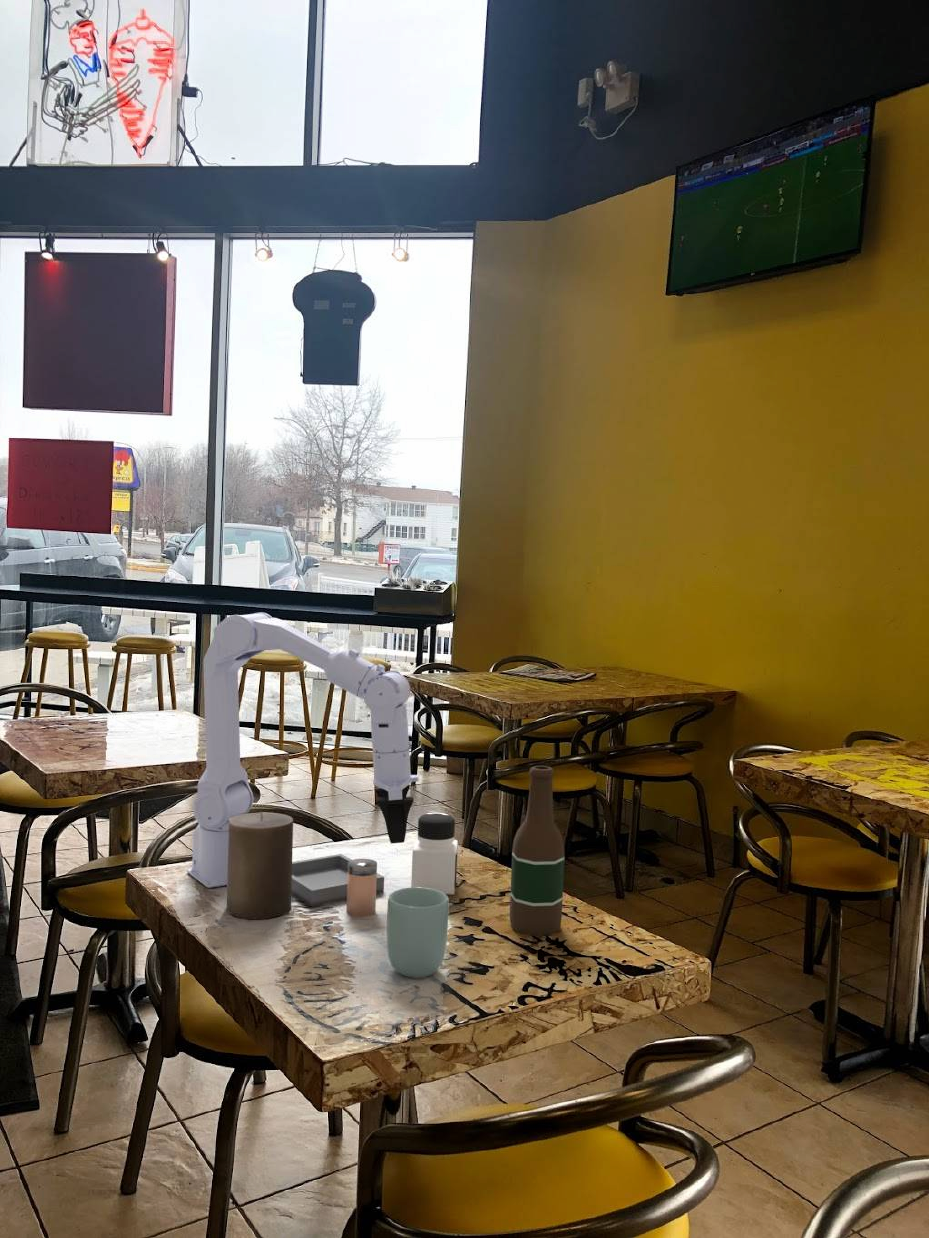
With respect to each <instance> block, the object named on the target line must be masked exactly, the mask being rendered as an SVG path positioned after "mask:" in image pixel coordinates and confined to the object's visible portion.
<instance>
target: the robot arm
mask: <svg viewBox="0 0 929 1238" xmlns="http://www.w3.org/2000/svg"><path fill="white" fill-rule="evenodd" d="M270 650H272V651H274V650H280V651H283V652H285V653H287V654H290V655H291V656H294V657H296V658H298V659H300V660H302V661H305V662H306V663H308V664H310V665H313V666H314V667H318V668H319V669H322V670H323V671H324V672H323V673H324V675H325V678H326V679H327V681H328V682H329V683H331V684H333V685H335V686H336V687H338V688H340V689H342V690H344V691H345V692H347V693H350V694H352V695H353V696H355V697H357V698H358V699H361V700H363V702H364V704H365V706H366V707H367V708H368V709H369V711H370V727H371V747H372V761H373V763H372V764H373V777H374V778H373V779H372V781H373V783H372V784H373V786H375V787H374V792H375V793H376V795H377V797H376V798H375V800H376V804H377V805H378V807H379V810H380V811H381V813H382V817H383V818H384V823H385V826H386V830H387V831H386V832H387V835H388V839H389V842H390V844H402V843H405V841H406V840H405V839H406V834H407V824H408V820H409V819H408V818H409V813H410V811H411V808H412V806H413V803H414V796H408V793H409V790H410V789H411V787H410V784H411V783H413V782H414V783H415V782H419V776H418V775H417V774H412V773H411V757H410V738H409V737H410V736H409V722H408V712H407V711H408V710H407V702H408V700H409V699H410V696H411V685H410V681H409V680H408V679H407V677H405V676H404V675H403V674H402V673H401V672H400V671H398V670H388V671H386V670H385V669H386V666H384V665H383V664H382V663H379V664H375V663H373V662H371V661H369V660H367V659H365V658H364V657H361V656H359V655H360V654H361V653H360V651H358V650H356V649H354V648H351V649H349V650H348V649H345V648H343V649H340V650H336V651H333V650H332V649H330V648H329V647H327V646H325V645H323V644H322V643H320V642H319V641H317V640H316V639H313V638H312V637H310V636H308V634H307V635H306V634H305V633H303V632H302V631H301V630H298V629H297V628H295V627H294V626H292V625H289V623H287V622H285V621H284V620H282V619H280V618H277V617H272V616H271V615H270V614H268V613H266V612H262V611H261V612H254V613H249V614H242V615H241V614H240V615H239V614H232V615H229V616H226V617H225V618H224V619H223V620H221V622H220V623H218V624H217V625H216V626H214V628H213V637H212V640H211V642H210V644H209V646H208V649H207V651H206V653H205V655H204V657H203V665H202V667H203V693H204V694H203V696H204V699H203V701H204V726H205V727H204V729H205V732H204V733H205V735H204V736H205V762H206V764H205V765H206V768H205V769H204V771H203V773H202V774H201V776H200V779H199V780H198V783H197V793H196V797H195V799H194V800H193V805H192V812H193V816H194V819H195V821H197V823H198V824H197V826H196V828H195V829H194V832H193V835H192V866H191V868H187V869H186V872H187V873H188V874H189V875H191V877H193V878H194V879H196V880H197V881H199V882H200V883H201V884H203V886H205V887H206V888H216V887H222V886H227V871H228V868H227V865H228V841H229V839H228V838H229V819H230V818H233V817H235V816H238V815H242V814H248V813H249V812H250V810H251V809H252V807H253V804H254V793H253V791H252V789H251V786H250V784H249V780H248V773H247V771H246V769H244V767H243V765H241V743H240V742H241V741H240V739H241V738H240V737H241V736H240V708H239V707H240V706H239V704H240V703H239V698H240V697H239V670H240V669H241V668H242V667H243V666H244V665H246V664H247V662H249V661H250V660H251V658H253V657H255V656H256V655H259V654H261V653H263V652H265V651H270Z"/></svg>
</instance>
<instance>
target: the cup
mask: <svg viewBox="0 0 929 1238" xmlns="http://www.w3.org/2000/svg"><path fill="white" fill-rule="evenodd" d="M449 900H450V899H449V897H448V894H444V893H443V892H440V891H438V890H434V889H430V888H423V887H411V886H410V887H405V888H400V889H398V890H395V891H393V892H391V893H390V894H389V895H388V899H387V909H386V910H387V912H386V916H387V917H386V947H387V948H386V950H387V954H388V960H389V963H390V965H391V967H392V968H393V969H394V970H395V972H397V973H398V974H400V975H402V976H404V977H408V978H413V979H419V978H421V979H422V978H425V977H428V976H431V975H433V974H434V973H436V972H437V971H438V970H439V969H440V967H441V965H442V964H443V961H444V958H445V955H446V950H447V941H448V934H449V933H448V932H449V931H448V930H449V913H450V912H449V911H450V909H449V908H450V905H449V904H450V903H449V902H450V901H449Z"/></svg>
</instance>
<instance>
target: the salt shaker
mask: <svg viewBox="0 0 929 1238" xmlns="http://www.w3.org/2000/svg"><path fill="white" fill-rule="evenodd" d="M377 870H378V862H377V860H374V859H369V858H355V859H352V860H351V861H349V862H348V878H347V900H346V913H347V914H348V915H350V916H353V917H359V918H360V917H362V918H364V917H365V918H366V917H370V916H373V915H374V914H376V910H377V909H376V908H377V903H376V901H377V894H376V880H377V873H378V871H377Z"/></svg>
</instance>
